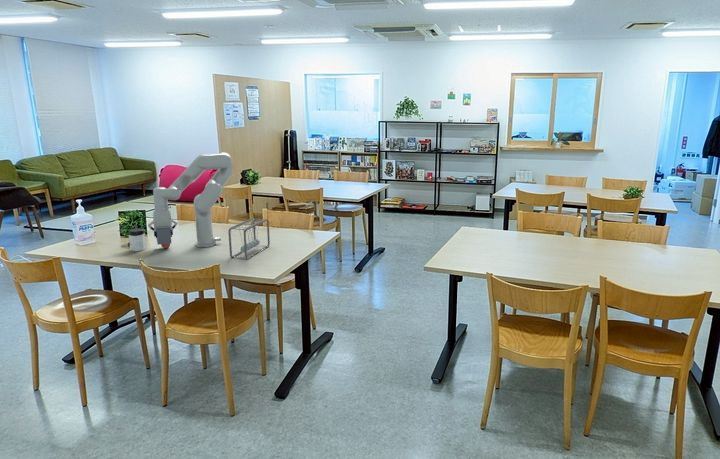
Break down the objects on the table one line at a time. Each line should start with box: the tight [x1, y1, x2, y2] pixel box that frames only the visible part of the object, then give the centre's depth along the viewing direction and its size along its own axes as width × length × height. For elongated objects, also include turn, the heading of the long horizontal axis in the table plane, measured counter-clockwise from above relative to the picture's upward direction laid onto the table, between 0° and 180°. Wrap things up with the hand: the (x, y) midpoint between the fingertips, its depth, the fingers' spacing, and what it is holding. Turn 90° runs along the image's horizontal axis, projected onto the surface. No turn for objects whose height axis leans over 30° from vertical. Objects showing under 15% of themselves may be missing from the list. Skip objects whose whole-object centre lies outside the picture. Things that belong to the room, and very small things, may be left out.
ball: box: [160, 243, 171, 249], centre depth 300 cm, size 5×5×5 cm
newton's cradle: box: [227, 217, 271, 260], centre depth 291 cm, size 30×10×18 cm, turn 164°
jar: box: [128, 227, 147, 252], centre depth 297 cm, size 9×8×12 cm
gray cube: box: [156, 227, 172, 245], centre depth 298 cm, size 8×8×9 cm
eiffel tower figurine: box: [120, 226, 131, 250], centre depth 306 cm, size 15×10×13 cm
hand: (163, 236), depth 299 cm, fingers closed on gray cube, 7 cm apart
